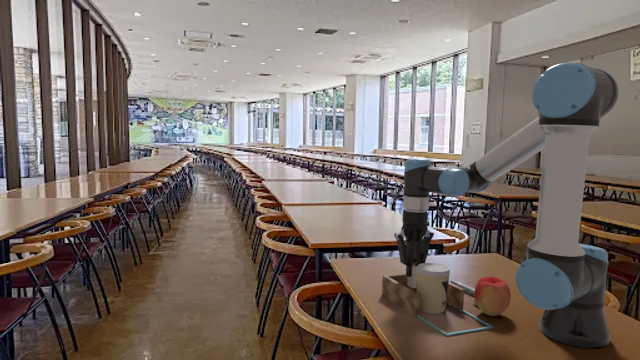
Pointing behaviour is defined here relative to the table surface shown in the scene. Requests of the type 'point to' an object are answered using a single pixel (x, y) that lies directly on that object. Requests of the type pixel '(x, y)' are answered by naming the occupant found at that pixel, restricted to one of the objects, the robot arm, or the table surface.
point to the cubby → (415, 294)
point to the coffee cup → (432, 286)
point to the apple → (492, 295)
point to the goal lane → (460, 331)
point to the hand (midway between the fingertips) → (411, 286)
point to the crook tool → (465, 288)
